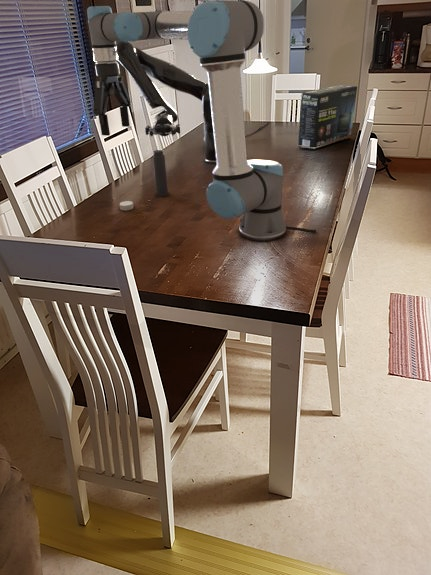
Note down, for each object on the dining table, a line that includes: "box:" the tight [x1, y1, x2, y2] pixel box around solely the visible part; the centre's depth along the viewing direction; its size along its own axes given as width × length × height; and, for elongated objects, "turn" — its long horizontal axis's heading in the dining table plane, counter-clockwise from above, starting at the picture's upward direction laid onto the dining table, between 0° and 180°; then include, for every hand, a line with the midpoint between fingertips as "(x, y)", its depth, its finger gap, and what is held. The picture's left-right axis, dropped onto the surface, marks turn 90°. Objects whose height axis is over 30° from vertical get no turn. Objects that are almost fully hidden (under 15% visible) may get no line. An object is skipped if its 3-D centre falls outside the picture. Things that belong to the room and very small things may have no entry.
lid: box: [119, 200, 134, 212], centre depth 172 cm, size 5×5×2 cm
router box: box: [297, 84, 358, 151], centre depth 238 cm, size 36×11×27 cm, turn 134°
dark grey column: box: [152, 149, 169, 197], centre depth 180 cm, size 5×5×17 cm
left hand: (162, 133), depth 183 cm, fingers open, 8 cm apart
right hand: (116, 130), depth 158 cm, fingers open, 13 cm apart
